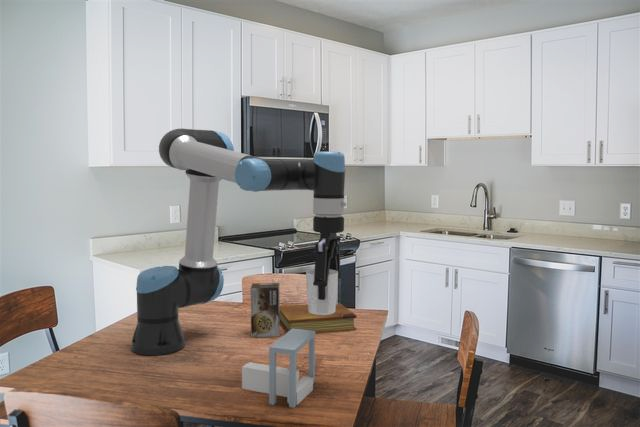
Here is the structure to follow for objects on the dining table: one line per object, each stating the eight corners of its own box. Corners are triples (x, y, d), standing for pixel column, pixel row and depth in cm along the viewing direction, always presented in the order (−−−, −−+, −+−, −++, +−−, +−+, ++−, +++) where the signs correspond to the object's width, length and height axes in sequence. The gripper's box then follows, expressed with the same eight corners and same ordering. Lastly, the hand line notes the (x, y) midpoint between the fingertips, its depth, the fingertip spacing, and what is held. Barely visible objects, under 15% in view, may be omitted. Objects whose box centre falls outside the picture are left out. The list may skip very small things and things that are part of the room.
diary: (338, 317, 195) (338, 301, 195) (356, 332, 177) (356, 315, 177) (276, 321, 188) (276, 305, 188) (288, 337, 171) (288, 319, 170)
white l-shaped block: (235, 393, 127) (235, 370, 126) (254, 379, 135) (254, 358, 135) (297, 405, 121) (297, 381, 120) (312, 390, 129) (313, 367, 129)
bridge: (269, 404, 121) (269, 347, 120) (292, 379, 135) (292, 328, 134) (294, 407, 119) (294, 350, 118) (314, 382, 133) (315, 330, 132)
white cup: (310, 317, 127) (310, 275, 126) (302, 308, 135) (302, 269, 134) (341, 314, 129) (342, 274, 128) (332, 306, 137) (333, 268, 136)
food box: (280, 331, 176) (280, 282, 174) (279, 337, 169) (279, 287, 168) (252, 331, 175) (252, 282, 174) (250, 337, 169) (250, 286, 167)
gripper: (332, 219, 119) (330, 320, 121) (353, 213, 138) (352, 299, 140) (300, 218, 121) (299, 317, 123) (325, 212, 140) (324, 297, 142)
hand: (327, 308), depth 131 cm, fingers closed on white cup, 7 cm apart
